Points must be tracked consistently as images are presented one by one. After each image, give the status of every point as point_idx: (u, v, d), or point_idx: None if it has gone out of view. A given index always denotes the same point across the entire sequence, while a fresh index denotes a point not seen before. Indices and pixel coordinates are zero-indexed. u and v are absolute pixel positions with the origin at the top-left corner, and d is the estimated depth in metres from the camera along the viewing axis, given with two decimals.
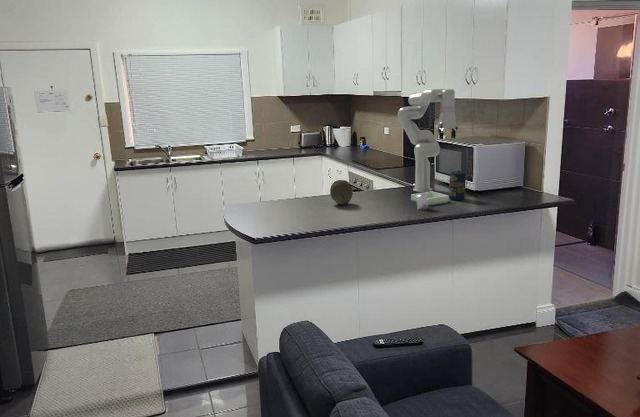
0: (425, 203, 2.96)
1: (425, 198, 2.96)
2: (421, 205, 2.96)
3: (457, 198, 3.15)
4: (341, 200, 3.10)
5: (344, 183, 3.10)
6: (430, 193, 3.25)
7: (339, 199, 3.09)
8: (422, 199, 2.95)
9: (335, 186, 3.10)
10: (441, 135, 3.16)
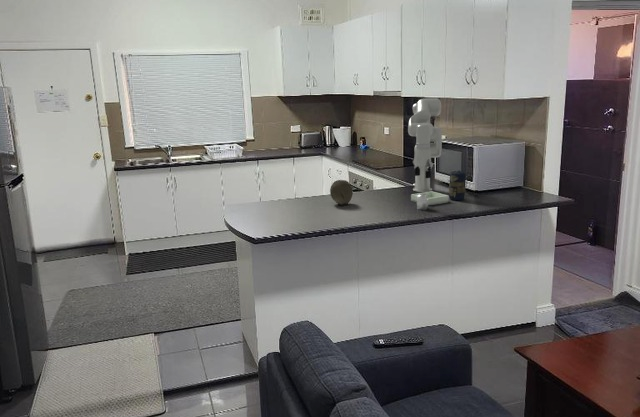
0: (425, 203, 2.96)
1: (425, 198, 2.96)
2: (421, 205, 2.96)
3: (457, 198, 3.15)
4: (341, 200, 3.10)
5: (344, 183, 3.10)
6: (430, 193, 3.25)
7: (339, 199, 3.09)
8: (422, 199, 2.95)
9: (335, 186, 3.10)
10: (430, 173, 2.90)
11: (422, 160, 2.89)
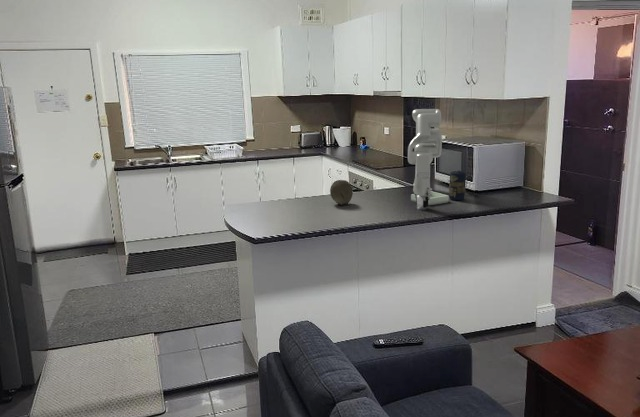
0: None
1: None
2: (421, 205, 2.96)
3: (457, 198, 3.15)
4: (341, 200, 3.10)
5: (344, 183, 3.10)
6: None
7: (339, 199, 3.09)
8: (422, 199, 2.95)
9: (335, 186, 3.10)
10: (427, 203, 2.96)
11: (421, 189, 2.93)
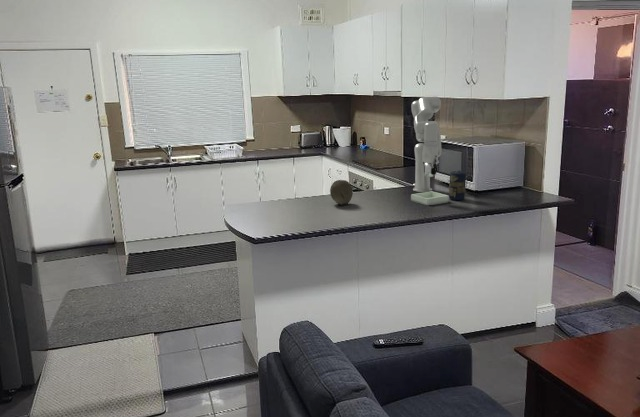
0: None
1: None
2: (429, 172, 3.10)
3: (457, 198, 3.15)
4: (341, 200, 3.10)
5: (344, 183, 3.10)
6: (430, 193, 3.25)
7: (339, 199, 3.09)
8: (430, 166, 3.09)
9: (335, 186, 3.10)
10: (435, 170, 3.09)
11: (430, 156, 3.06)
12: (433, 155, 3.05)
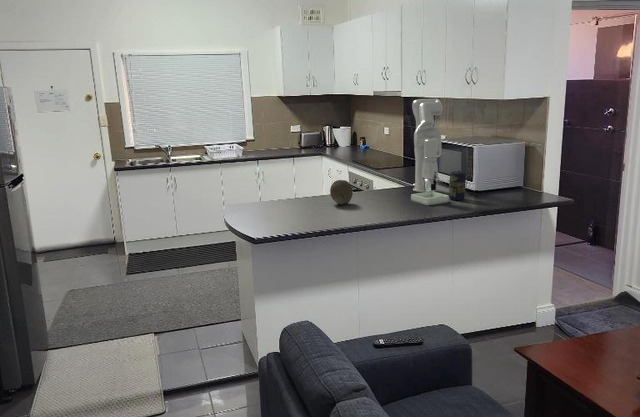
0: None
1: None
2: (429, 188, 3.11)
3: (457, 198, 3.15)
4: (341, 200, 3.10)
5: (344, 183, 3.10)
6: (430, 193, 3.25)
7: (339, 199, 3.09)
8: (430, 182, 3.11)
9: (335, 186, 3.10)
10: None
11: (429, 172, 3.08)
12: (433, 171, 3.07)
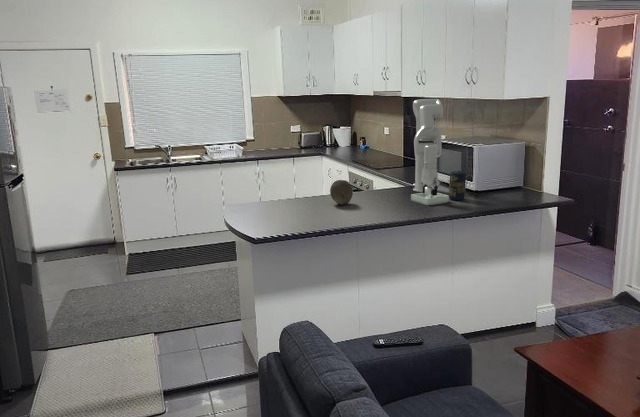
0: None
1: None
2: (429, 196, 3.13)
3: (457, 198, 3.15)
4: (341, 200, 3.10)
5: (344, 183, 3.10)
6: None
7: (339, 199, 3.09)
8: (430, 190, 3.12)
9: (335, 186, 3.10)
10: None
11: (429, 178, 3.09)
12: (433, 177, 3.08)
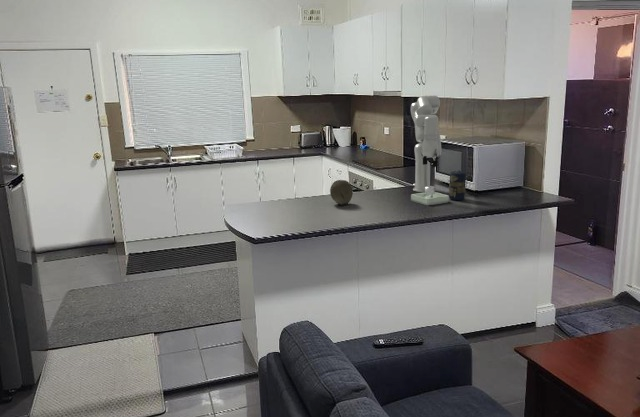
0: (433, 194, 3.13)
1: (433, 190, 3.12)
2: (429, 196, 3.13)
3: (457, 198, 3.15)
4: (341, 200, 3.10)
5: (344, 183, 3.10)
6: None
7: (339, 199, 3.09)
8: (430, 190, 3.12)
9: (335, 186, 3.10)
10: (437, 163, 3.10)
11: (430, 150, 3.08)
12: (433, 149, 3.07)
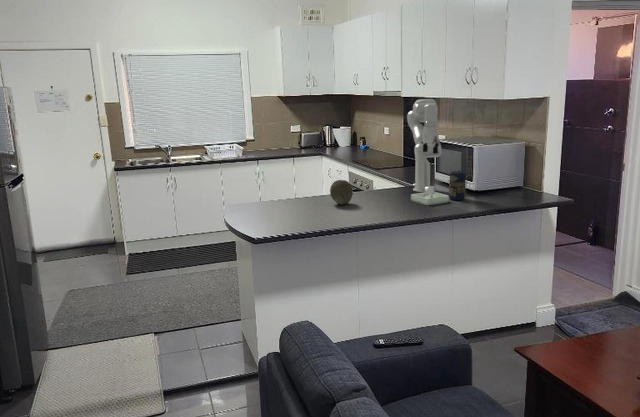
0: (433, 194, 3.13)
1: (433, 190, 3.12)
2: (429, 196, 3.13)
3: (457, 198, 3.15)
4: (341, 200, 3.10)
5: (344, 183, 3.10)
6: None
7: (339, 199, 3.09)
8: (430, 190, 3.12)
9: (335, 186, 3.10)
10: (437, 149, 3.16)
11: (430, 137, 3.15)
12: (433, 135, 3.13)
